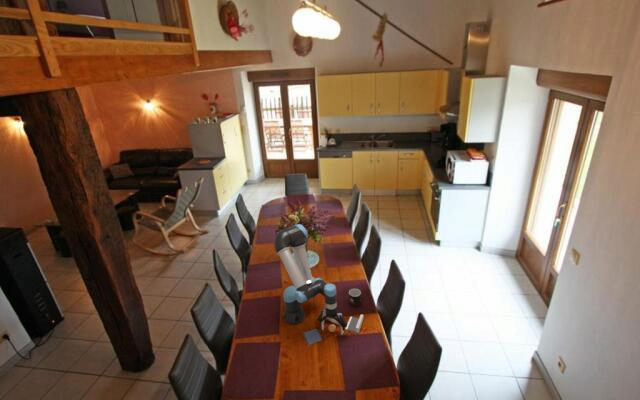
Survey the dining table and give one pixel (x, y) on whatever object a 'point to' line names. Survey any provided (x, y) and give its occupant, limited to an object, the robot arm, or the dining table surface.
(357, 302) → the coffee mug
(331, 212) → the dining table surface
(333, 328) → the ball
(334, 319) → the ramp
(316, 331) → the woven mat
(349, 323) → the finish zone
